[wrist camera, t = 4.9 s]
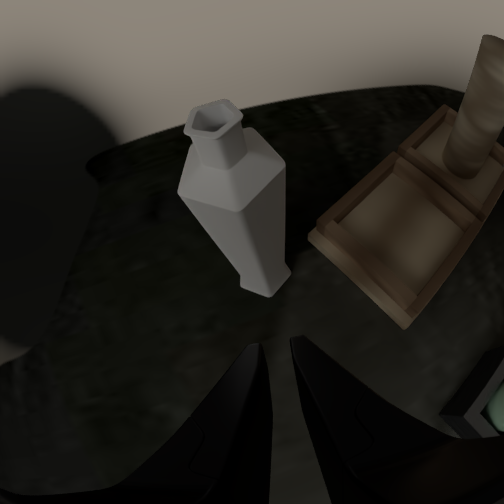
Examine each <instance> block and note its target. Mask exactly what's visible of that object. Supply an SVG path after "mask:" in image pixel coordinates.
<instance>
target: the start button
mask: <svg viewBox="0 0 504 504" xmlns="http://www.w3.org/2000/svg"><path fill="white" fill-rule="evenodd" d="M480 414H481V415H482V416H483V417H484V418H485V420H486V421H487V422H488V423H489V424H490V425H491V426H492V427H493V428H494V429H495V431H502V432H504V380H503V381H502V382H501V383H500V385H499V386H498V388H497V389H496V391H495V392H494V394H493V395H492V397H491V398H490V400H489V401H488V403H487V404H486V405H485V407H484V408H483V410H482V411H481V412H480Z"/></svg>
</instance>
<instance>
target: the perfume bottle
mask: <svg viewBox="0 0 504 504" xmlns="http://www.w3.org/2000/svg"><path fill="white" fill-rule="evenodd" d="M242 118H243V114H242V113H241V112H240V111H239V110H238V109H237V108H236V107H235V106H234V105H233V104H232V103H231V102H230V101H229V100H227V99H222V100H218V101H215V102H211V103H208V104H204V105H201V106H198V107H195V108H193V109H192V110H191V112H190V114H189V116H188V120H187V122H186V125H185V128H184V133H185V134H186V135H188V136H190V137H191V139H192V141H193V144H192V145H191V146H190V148H189V152H188V155H187V159H186V162H185V166H184V169H183V173H182V176H181V180H180V184H179V188H178V194H179V196H180V197H181V198H182V200H183V201H184V202H185V204H186V205H187V206H188V208H189V209H190V210H191V212H192V213H193V214H194V216H195V217H196V218H197V219H198V221H199V222H200V223H201V225H202V226H203V227H204V229H205V230H206V231H207V232H208V234H209V235H210V236H211V238H212V239H213V240H214V242H215V243H216V244H217V245H218V247H219V248H220V249H221V251H222V252H223V253H224V254H225V256H226V257H227V258H228V260H229V261H230V262H231V263H232V265H233V266H234V267H235V269H236V270H237V271H238V272H239V274H240V275H241V278H240V286H241V287H242V288H244V289H247V290H250V291H252V292H255V293H258V294H260V295H263V296H266V297H272V296H273V295H274V294H275V292H276V291H277V290H278V289H279V288H280V287H281V286H282V284H283V283H284V282H285V281H286V280H287V279H288V277H289V276H290V275H291V271H290V269H289V268H288V266H287V265H286V263H285V162H284V160H283V159H282V158H281V157H280V156H279V155H278V154H277V153H276V151H275V150H274V149H273V148H272V147H271V146H270V145H269V144H268V143H267V142H266V141H265V140H264V139H263V138H262V137H261V136H260V134H259V133H258V132H257V131H256V130H255V129H253V128H244V129H242V126H241V122H240V121H241V120H242Z"/></svg>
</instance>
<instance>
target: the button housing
mask: <svg viewBox="0 0 504 504" xmlns="http://www.w3.org/2000/svg"><path fill="white" fill-rule="evenodd" d="M503 380H504V346H501V347H498V348H495V349H492V350H490V351H487V352H485V353H484V355H483V356H482V358H481V359H480V361H479V362H478V364H477V365H476V367H475V368H474V369H473V371H472V372H471V374H470V375H469V376H468V378H467V379H466V380H465V382H464V383H463V385H462V386H461V387H460V389H459V390H458V391H457V392H456V394H455V395H454V396H453V398H452V399H451V400H450V401H449V403H448V404H447V405H446V406H445V407H444V409H443V410H442V411H441V412H440V413H439V415H440V416H441V417H442V418H443V419H444V420H445V422H446V423H447V424H448V425H449V426H450V427H451V428H452V429H453V430H454V431H455V432H456V433H457V434H458V435H459V436H460V437H461V438H462V439H475V438H485V437H494V436H502V435H504V432H502V431H495V429H494V428H493V427H492V426H491V425H490V424H489V423H488V422H487V421H486V420H485V418H484V417H483V416H482V415H481V414H480V412H481V411H482V410H483V408H484V407H485V405H486V404H487V403H488V401H489V400H490V398H491V397H492V395H493V394H494V392H495V391H496V389H497V388H498V386H499V385H500V383H501V382H502V381H503Z"/></svg>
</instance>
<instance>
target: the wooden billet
mask: <svg viewBox="0 0 504 504" xmlns="http://www.w3.org/2000/svg"><path fill="white" fill-rule="evenodd" d="M503 126H504V40H503V39H501V38H498V37H496V36H492V35H483V37H482V40H481V44H480V47H479V51H478V54H477V58H476V61H475V65H474V68H473V71H472V74H471V78H470V80H469V83H468V87H467V89H466V92H465V95H464V98H463V101H462V104H461V106H460V109H459V112H458V115H457V117H456V120H455V122H454V125H453V128H452V130H451V133H450V135H449V138H448V140H447V143H446V145H445V147H444V150H443V152H442V160H443V163H444V165H445V166H446V168H447V169H448V170H449V171H450V172H451V173H452V174H454V175H455V176H457V177H459V178H462V179H473V178H474V177H476V175H477V174H478V172H479V170H480V169H481V167H482V165H483V163H484V162H485V160H486V158H487V156H488V154H489V153H490V151H491V149H492V147H493V145H494V143H495V142H496V140H497V138H498V136H499V134H500V132H501V130H502V128H503Z"/></svg>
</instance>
